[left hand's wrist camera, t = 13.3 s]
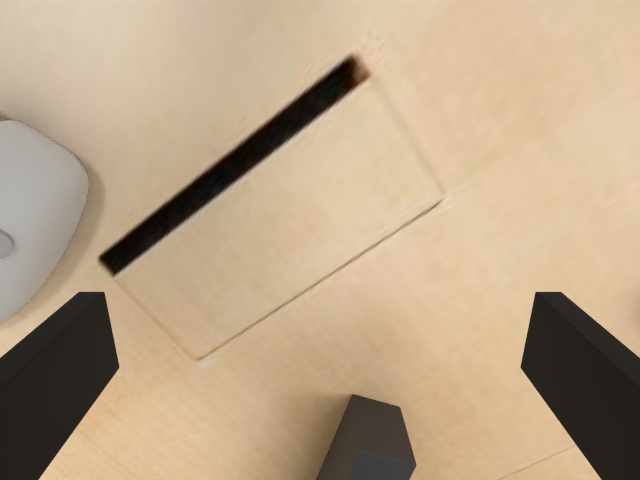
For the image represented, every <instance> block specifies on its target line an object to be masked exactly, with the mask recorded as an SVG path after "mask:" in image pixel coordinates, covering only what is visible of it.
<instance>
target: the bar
mask: <svg viewBox="0 0 640 480" xmlns="http://www.w3.org/2000/svg"><path fill="white" fill-rule="evenodd" d="M415 467H416V462H415V458H414V455H413V451H412V448H411V444H410V441H409V437H408V433H407V430H406V426H405V423H404V419H403V416H402V412H401V409H400V407H396V406H393V405H389V404H385V403H382V402H378V401H374V400H371V399H367V398H363V397H360V396H356V395H352V397H351V400H350V402H349V405H348V407H347V409H346V412H345V414H344V416H343V419H342V421H341V424H340V426H339V428H338V431H337V433H336V435H335V438H334V440H333V443H332V445H331V447H330V450H329V452H328V454H327V457H326V459H325V462H324V464H323V466H322V469H321V471H320V474H319V476H318V478H317V480H409V479H410V477H411V475H412V473H413V471H414V469H415Z"/></svg>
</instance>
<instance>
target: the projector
mask: <svg viewBox="0 0 640 480" xmlns="http://www.w3.org/2000/svg"><path fill="white" fill-rule="evenodd" d="M88 190H89V179H88V176H87V173H86V170H85V169H84V167H83V166H82V164H81V163H80V162H79V161H78V159H77V158H76V157H75V156H74V155H72V154H71V153H70V152H69V151H68V150H66V149H65V148H63V147H62V146H60V145H59V144H58V143H56V142H54V141H53V140H51V139H49V138H48V137H46V136H44V135H42V134H41V133H39V132H37V131H35V130H34V129H32V128H30V127H28V126H26V125H24V124H23V123H21V122H18V121H14V120H6V121H5V119H4V117H3V116H2V114H1V113H0V325H1V324H2V323H4V322H5V321H7V320H8V319H9V318H11V317H12V316H13V315H14V314H16V313H17V312H18V311H19V310H20V309H21V308H22V307H24V306H25V305H26V304H27V303H28V302H29V301H30V300H31V298H32V297H33V296H34V295H35V294H36V293H37V292H38V291H39V289H40V288H41V287H42V286H43V284H44V283H45V282H46V280H47V279H48V278H49V276H50V275H51V273H52V272H53V270H54V269H55V267H56V266H57V264H58V262H59V261H60V259H61V257H62V256H63V254H64V252H65V250H66V248H67V246H68V244H69V242H70V240H71V238H72V236H73V234H74V232H75V230H76V227H77V225H78V223H79V220H80V218H81V215H82V213H83V210H84V207H85V203H86V200H87V195H88Z"/></svg>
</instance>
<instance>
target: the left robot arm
mask: <svg viewBox="0 0 640 480" xmlns="http://www.w3.org/2000/svg"><path fill="white" fill-rule="evenodd" d="M118 369H119V363H118V358H117V353H116V348H115V343H114V338H113V333H112V328H111V323H110V318H109V313H108V308H107V303H106V298H105V293H104V292H79V293H77V294H76V295H75V296H74V297H73V298H71V299H70V300H69V301H68V302H67V303H65V304H64V305H63V306H62V307H61V308H59V309H58V310H57V311H56V312H55V313H53V314H52V315H51V316H50V317H49V318H47V319H46V320H45V321H44V322H43V323H42V324H40V325H39V326H38V327H37V328H36V329H34V330H33V331H32V332H31V333H30V334H28V335H27V336H26V337H25V338H24V339H22V340H21V341H20V342H19V343H18V344H16V345H15V346H14V347H13V348H12V349H10V350H9V351H8V352H7V353H6V354H5V355H3V356H2V357H1V358H0V480H38V479H39V478H40V477H41V475H42V474H43V473H44V471H45V470H46V468H47V467H48V466H49V464H50V463H51V461H52V460H53V459H54V457H55V456H56V455H57V453H58V452H59V450H60V449H61V448H62V446H63V445H64V443H65V442H66V441H67V439H68V438H69V437H70V435H71V434H72V432H73V431H74V430H75V428H76V427H77V425H78V424H79V423H80V421H81V420H82V419H83V417H84V416H85V414H86V413H87V412H88V410H89V409H90V408H91V406H92V405H93V403H94V402H95V401H96V399H97V398H98V396H99V395H100V394H101V392H102V391H103V390H104V388H105V387H106V385H107V384H108V383H109V381H110V380H111V378H112V377H113V376H114V374H115V373H116V372H117V370H118ZM521 369H522V370H523V372H524V373H525V374H526V376H527V377H528V378H529V380H530V381H531V383H532V384H533V385H534V387H535V388H536V390H537V391H538V392H539V394H540V395H541V396H542V398H543V399H544V401H545V402H546V403H547V405H548V406H549V408H550V409H551V410H552V412H553V413H554V414H555V416H556V417H557V419H558V420H559V421H560V423H561V424H562V426H563V427H564V428H565V430H566V431H567V432H568V434H569V435H570V437H571V438H572V439H573V441H574V442H575V443H576V445H577V446H578V448H579V449H580V450H581V452H582V453H583V455H584V456H585V457H586V459H587V460H588V461H589V463H590V464H591V466H592V467H593V468H594V470H595V471H596V473H597V474H598V475H599V477H600V478H601V479H602V480H640V358H639V357H638V356H637V355H635V354H634V353H633V352H632V351H631V350H629V349H628V348H627V347H626V346H625V345H624V344H622V343H621V342H620V341H619V340H618V339H616V338H615V337H614V336H613V335H612V334H610V333H609V332H608V331H607V330H606V329H604V328H603V327H602V326H601V325H600V324H598V323H597V322H596V321H595V320H594V319H593V318H591V317H590V316H589V315H588V314H587V313H585V312H584V311H583V310H582V309H581V308H579V307H578V306H577V305H576V304H575V303H573V302H572V301H571V300H570V299H569V298H567V297H566V296H565V295H564V294H563V293H561V292H536V293H535V298H534V303H533V308H532V313H531V318H530V323H529V328H528V333H527V338H526V343H525V348H524V353H523V358H522V363H521Z"/></svg>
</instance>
